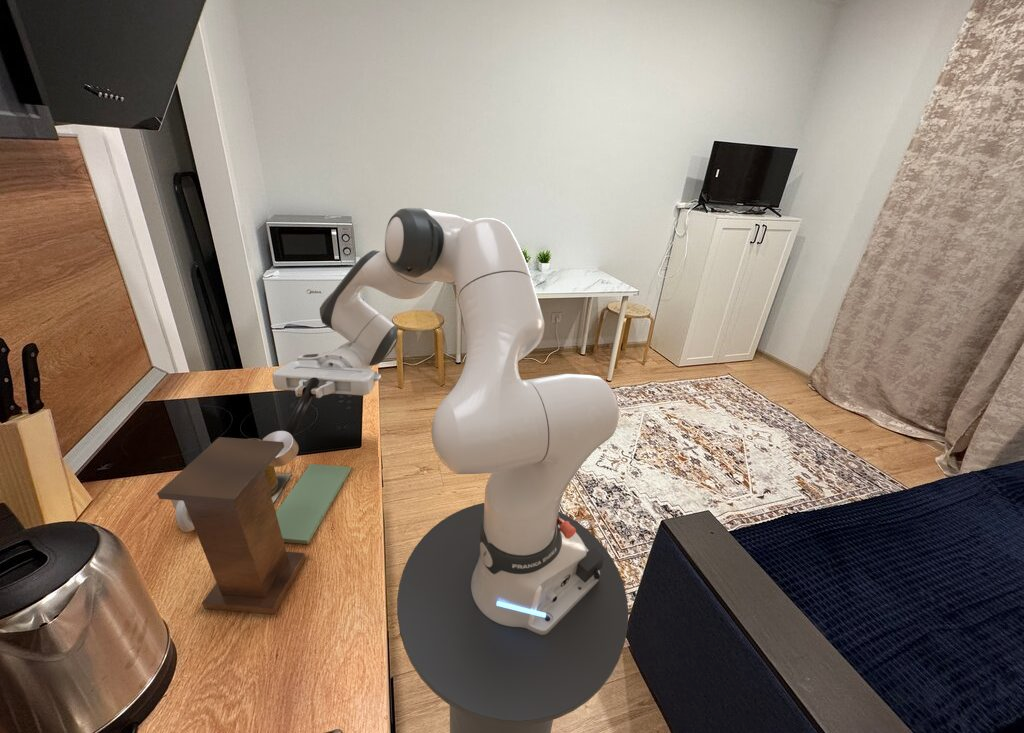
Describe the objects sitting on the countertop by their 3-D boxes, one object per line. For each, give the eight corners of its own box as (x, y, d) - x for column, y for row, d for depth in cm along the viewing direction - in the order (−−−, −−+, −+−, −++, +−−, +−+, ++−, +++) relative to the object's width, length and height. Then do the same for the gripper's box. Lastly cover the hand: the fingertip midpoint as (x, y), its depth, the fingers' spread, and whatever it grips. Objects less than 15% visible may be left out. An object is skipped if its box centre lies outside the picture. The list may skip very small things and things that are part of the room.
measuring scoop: (304, 380, 84) (299, 371, 82) (331, 382, 84) (326, 373, 82) (258, 465, 72) (251, 457, 70) (290, 468, 72) (284, 460, 69)
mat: (311, 467, 94) (310, 463, 93) (350, 470, 93) (350, 466, 93) (259, 540, 76) (258, 536, 75) (308, 544, 76) (307, 540, 75)
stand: (250, 544, 75) (215, 436, 64) (311, 549, 75) (286, 441, 64) (204, 609, 64) (152, 493, 53) (274, 614, 64) (237, 499, 53)
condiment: (236, 503, 83) (220, 455, 78) (257, 474, 91) (245, 428, 85) (273, 503, 84) (261, 456, 78) (292, 474, 91) (281, 430, 86)
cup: (233, 500, 84) (222, 466, 80) (210, 541, 75) (196, 505, 71) (193, 503, 82) (179, 468, 78) (165, 545, 74) (148, 509, 70)
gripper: (384, 386, 94) (360, 412, 81) (296, 380, 95) (258, 404, 82) (383, 360, 92) (358, 382, 79) (293, 354, 93) (253, 374, 80)
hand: (306, 393), depth 81 cm, fingers closed on measuring scoop, 2 cm apart
